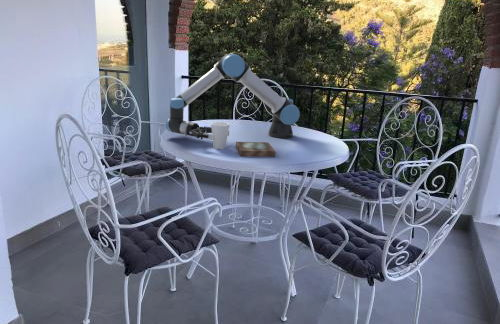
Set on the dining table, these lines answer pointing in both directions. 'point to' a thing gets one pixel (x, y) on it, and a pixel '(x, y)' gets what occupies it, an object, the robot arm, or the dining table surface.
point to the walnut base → (255, 149)
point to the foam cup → (219, 134)
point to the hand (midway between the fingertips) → (221, 135)
